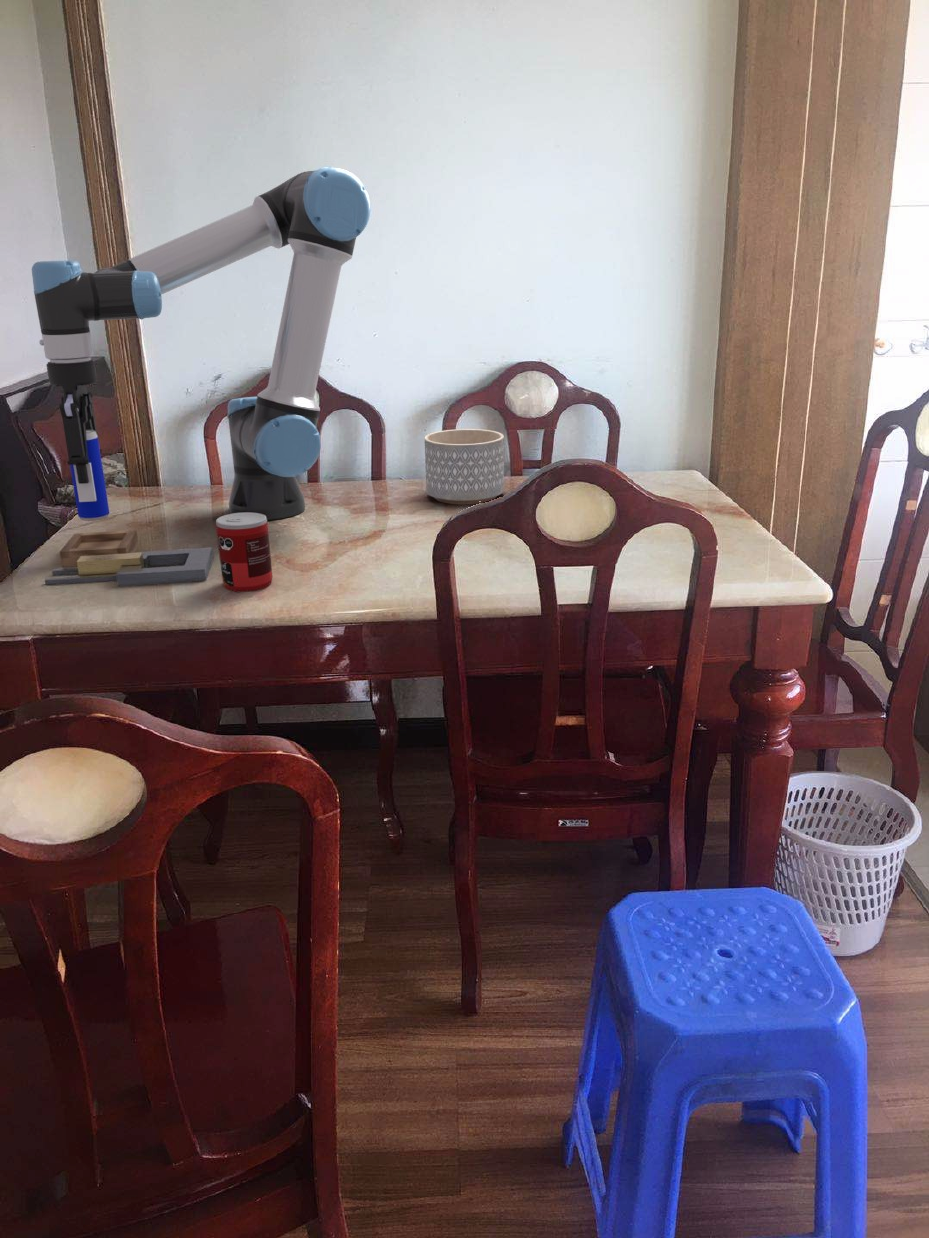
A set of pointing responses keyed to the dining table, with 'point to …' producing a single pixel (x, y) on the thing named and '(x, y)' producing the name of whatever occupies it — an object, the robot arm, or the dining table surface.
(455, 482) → the planter
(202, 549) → the socket plate
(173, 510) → the dining table surface
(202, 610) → the dining table surface
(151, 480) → the dining table surface
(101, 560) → the bar
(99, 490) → the beverage can
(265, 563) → the canned food
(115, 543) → the tray
